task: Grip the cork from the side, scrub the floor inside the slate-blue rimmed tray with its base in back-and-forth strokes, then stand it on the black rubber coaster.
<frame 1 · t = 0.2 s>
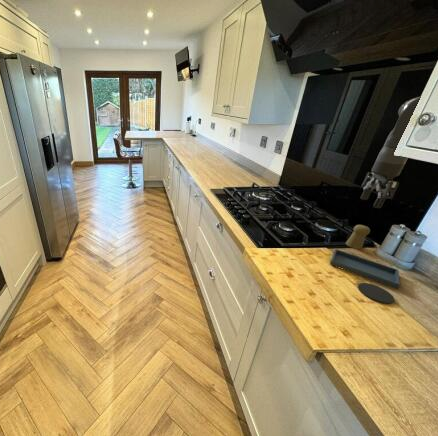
hand: (369, 203, 90), 22 cm above the worktop, tool pointing down, fingers open, 8 cm apart
tray: (361, 269, 89), on the worktop
coaster: (375, 293, 77), on the worktop
cork: (352, 248, 102), on the worktop
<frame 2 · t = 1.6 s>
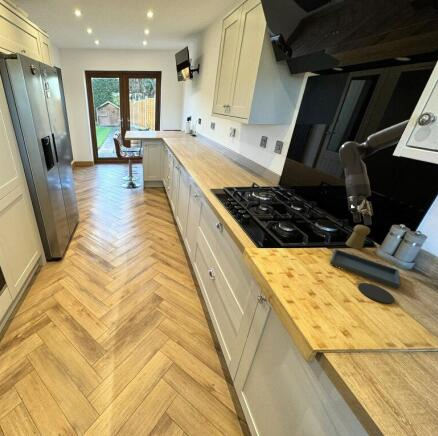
hand: (362, 223, 96), 13 cm above the worktop, tool tilted 40°, fingers open, 8 cm apart
cork: (352, 248, 103), on the worktop, touching gripper
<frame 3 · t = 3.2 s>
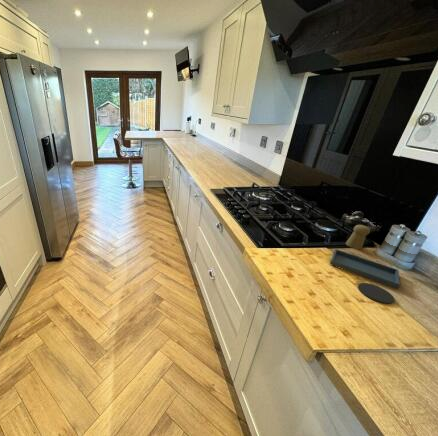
hand: (359, 227, 107), 6 cm above the worktop, tool horizontal, fingers open, 8 cm apart
cork: (352, 248, 102), on the worktop
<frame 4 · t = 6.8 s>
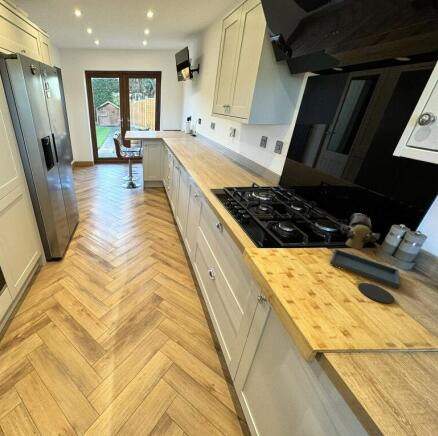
hand: (357, 239, 98), 6 cm above the worktop, tool horizontal, fingers closed on cork, 4 cm apart
cork: (352, 248, 102), on the worktop, touching gripper
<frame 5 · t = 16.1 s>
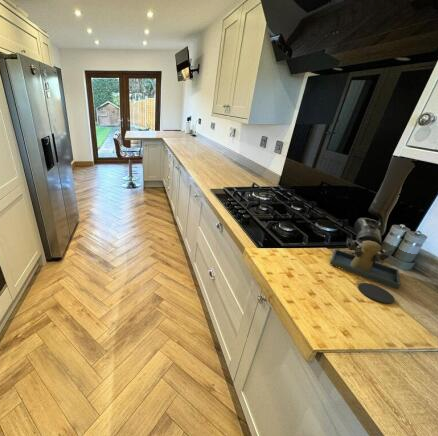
hand: (366, 257, 85), 7 cm above the worktop, tool horizontal, fingers closed on cork, 4 cm apart
cork: (359, 267, 90), resting in tray, touching gripper
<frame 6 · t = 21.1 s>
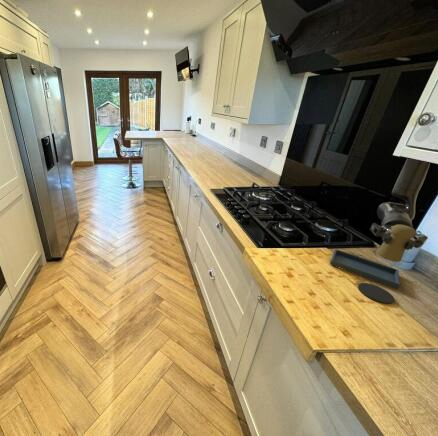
hand: (398, 244, 72), 18 cm above the worktop, tool horizontal, fingers closed on cork, 4 cm apart
cork: (387, 256, 77), point 12 cm above the worktop, touching gripper
when the fingers open (7 cm above the worktop, at t = 25.2 s): cork stays where it is, resting on coaster.
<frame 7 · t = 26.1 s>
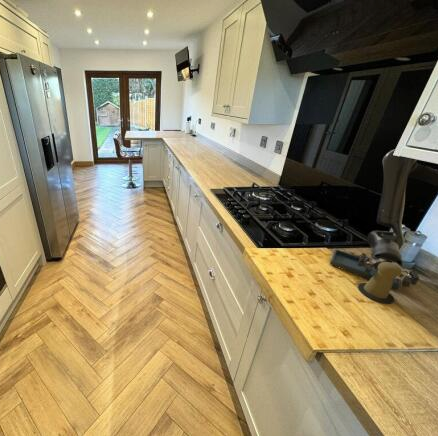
hand: (386, 278, 73), 8 cm above the worktop, tool horizontal, fingers open, 8 cm apart
cork: (375, 292, 77), resting on coaster
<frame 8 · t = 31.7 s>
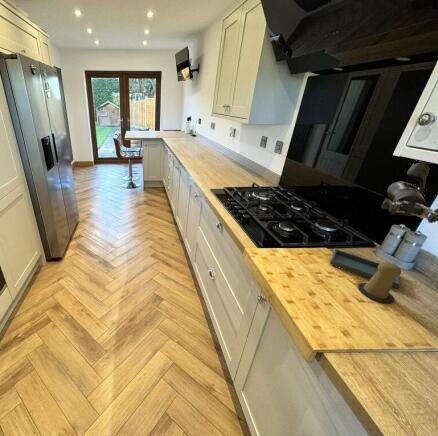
hand: (412, 215, 74), 25 cm above the worktop, tool horizontal, fingers open, 8 cm apart
nothing on the worktop moved.
at the end: cork 0.2 cm off-centre on the coaster, point 0.4 cm above the coaster's base; cork tilted 0°; the gripper is holding nothing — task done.
